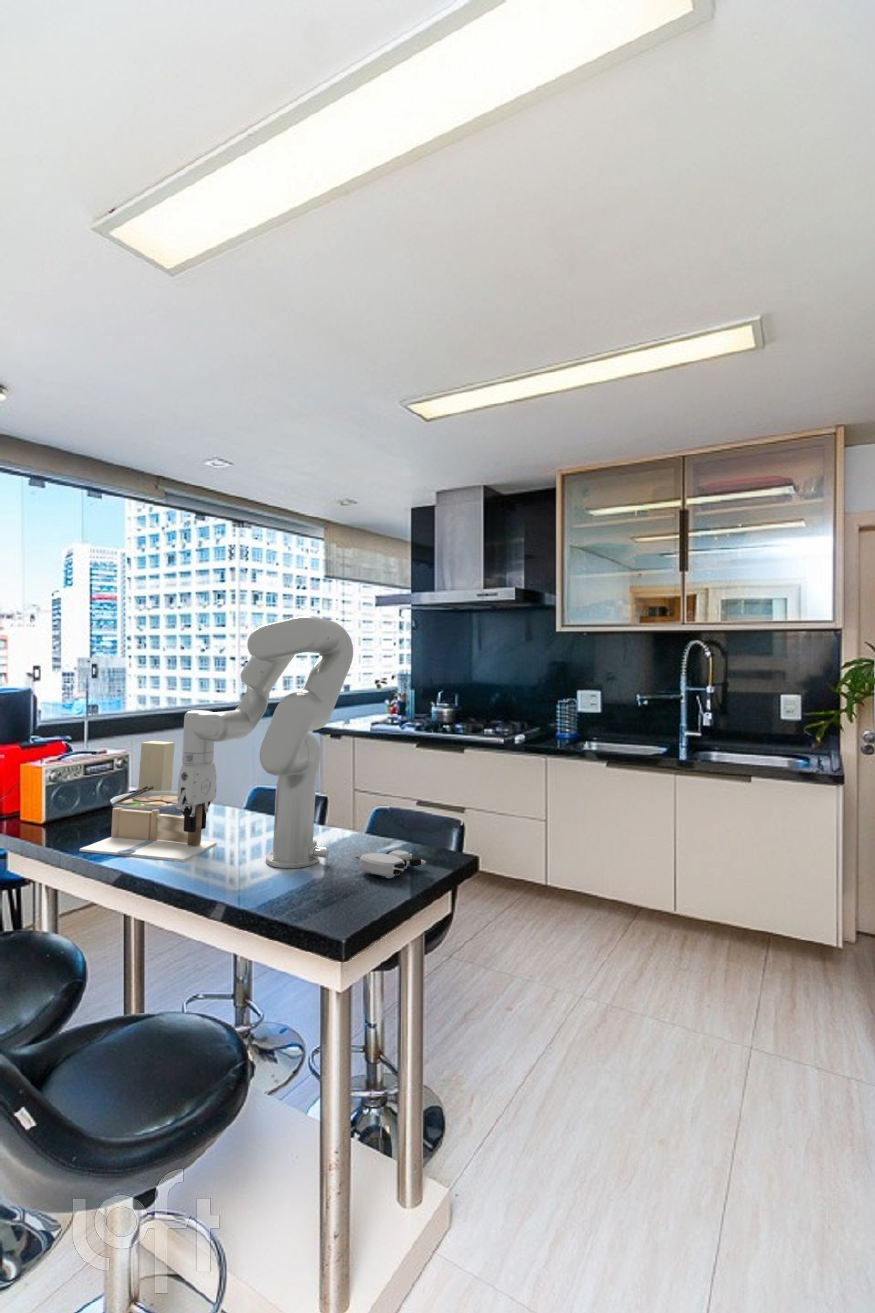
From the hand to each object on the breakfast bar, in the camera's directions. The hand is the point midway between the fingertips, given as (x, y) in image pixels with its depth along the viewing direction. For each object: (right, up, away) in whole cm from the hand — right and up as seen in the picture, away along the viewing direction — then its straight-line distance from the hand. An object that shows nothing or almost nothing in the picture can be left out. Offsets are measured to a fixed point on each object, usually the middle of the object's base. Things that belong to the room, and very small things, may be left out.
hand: (194, 829), depth 158 cm
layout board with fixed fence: (-11, -4, -2) cm, 12 cm away
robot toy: (+51, -7, -13) cm, 53 cm away
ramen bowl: (-21, -5, +21) cm, 30 cm away
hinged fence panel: (-5, -3, +1) cm, 6 cm away
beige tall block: (-30, -5, +42) cm, 52 cm away
